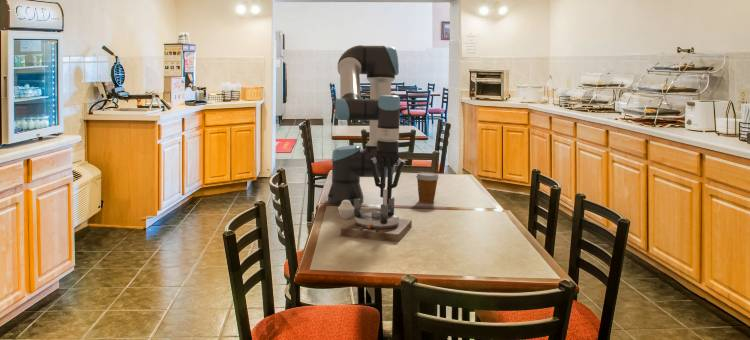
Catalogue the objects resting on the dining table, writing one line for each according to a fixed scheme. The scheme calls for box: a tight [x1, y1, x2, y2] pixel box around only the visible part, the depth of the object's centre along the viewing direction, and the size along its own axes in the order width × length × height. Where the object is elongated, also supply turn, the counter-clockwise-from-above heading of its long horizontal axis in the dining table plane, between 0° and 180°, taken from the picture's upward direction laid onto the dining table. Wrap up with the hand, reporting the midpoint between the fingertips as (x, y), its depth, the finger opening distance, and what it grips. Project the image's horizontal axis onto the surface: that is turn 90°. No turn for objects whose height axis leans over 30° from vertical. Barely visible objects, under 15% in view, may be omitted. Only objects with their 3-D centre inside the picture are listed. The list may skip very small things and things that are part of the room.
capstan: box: [353, 196, 400, 229], centre depth 205 cm, size 16×15×8 cm
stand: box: [339, 216, 413, 243], centre depth 206 cm, size 20×20×3 cm
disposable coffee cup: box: [415, 171, 440, 204], centre depth 254 cm, size 10×10×12 cm
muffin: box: [337, 200, 354, 220], centre depth 224 cm, size 6×6×7 cm
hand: (385, 206), depth 211 cm, fingers closed
